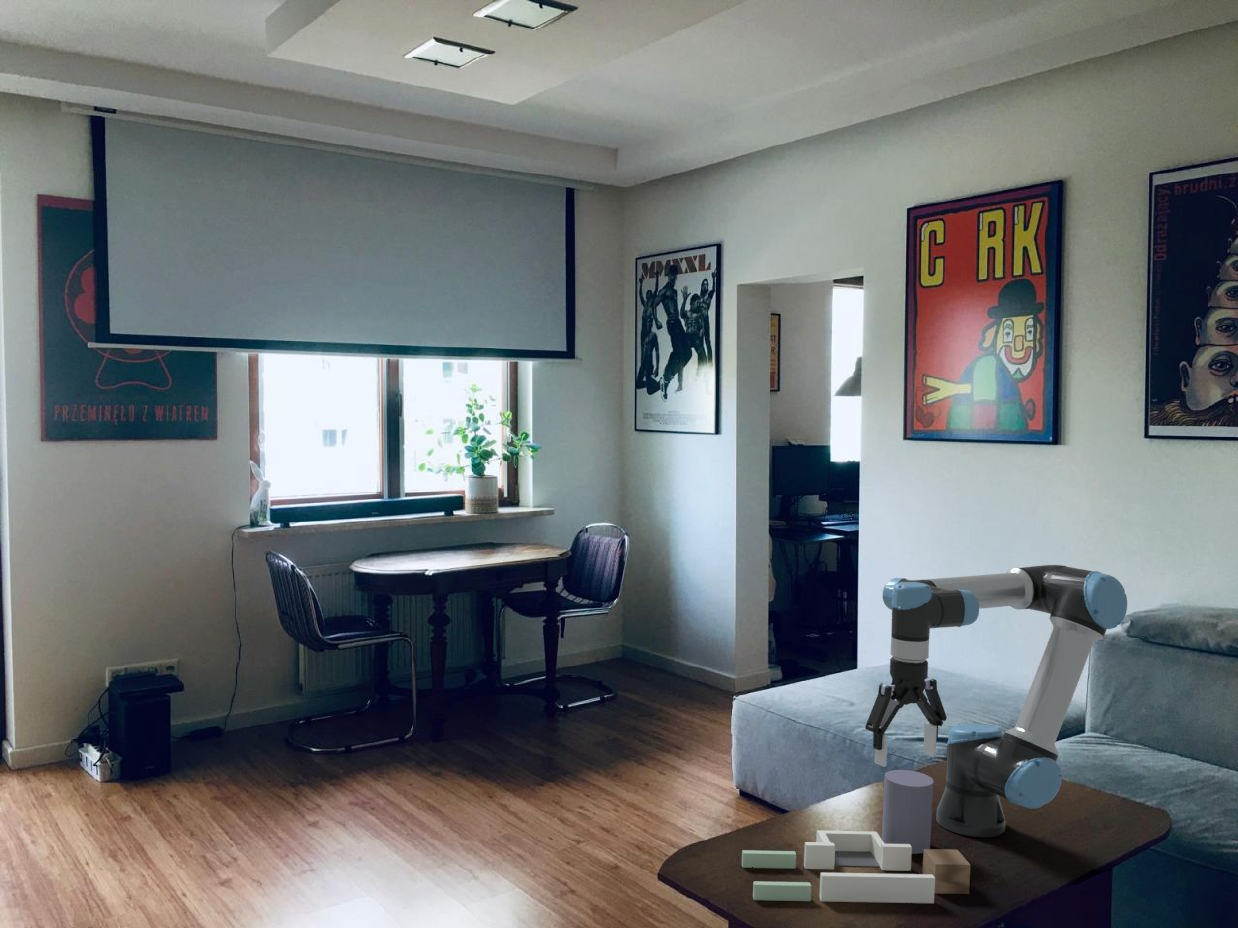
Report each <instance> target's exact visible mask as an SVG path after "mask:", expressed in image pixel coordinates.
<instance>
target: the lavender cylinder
mask: <svg viewBox="0 0 1238 928" xmlns="http://www.w3.org/2000/svg"><path fill="white" fill-rule="evenodd" d="M883 786H884V787H883V801H882V802H883V803H882V821H881V822H882V824H881V825H882V827H881V839H882V840H883V842H884V843H885V844H910V845H911V847H912V855H918V854H919V855H920V854H923V853H924V849H931V840H932V839H931V836H932V818H933V800H934V799H933V798H934V797H933V796H934V779H933V778H932V777H931V776H929V775H927V774H926V773H922V772H919V771H916V770H915V771H914V770H907V769H894V770H890V771H889V770H888V771H887V772H885V773H884V785H883Z"/></svg>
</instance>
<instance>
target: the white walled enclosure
mask: <svg viewBox="0 0 1238 928" xmlns="http://www.w3.org/2000/svg"><path fill="white" fill-rule="evenodd" d="M815 840H816V841H813V842H812V841H804V851H803V852H804V853H803V854H804V855H803V866H804V869H806V870H835V867H857V868H859V867H862V868H863V867H865V868H880V869H881V871H896V872H897V871H901V872H903V871H908V872H909V871H910V872H911V871H912V870H911V869H912V855H913V854H912V847H911V845H910V844H885V843H884V842H883V840H882V837H881V836H880V834H879V833H878V832H877V831H867V830H865V831H863V830H861V831H860V830H821V829H820V830H819V829H818V830H816V839H815ZM934 892H935V877H934V876H933V875H931V874H922V873H921V874H920V873H919V874H917V873H875V872H874V873H873V872H872V873H870V872H869V873H867V872H865V873H864V872H857V873H856V872H826V871H825V872H820V875H819V894H818V895H819V896H818V898H819V900H820V902H833V903H834V902H835V903H836V902H838V903H839V902H841V903H842V902H844V903H845V902H846V903H847V902H848V903H892V904H893V903H895V904H896V903H897V904H899V903H900V904H902V903H903V904H906V903H907V904H911V903H912V904H935V893H934Z"/></svg>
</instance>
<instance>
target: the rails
mask: <svg viewBox="0 0 1238 928" xmlns="http://www.w3.org/2000/svg"><path fill="white" fill-rule="evenodd" d="M741 867H742V868H743V869H747V868H748V869H749V868H750V869H751V868H752V867H753V868H752V869H788V870H789V869H796V868H797V853H796V851H795V850H755V849H753V850H752V849H751V850H749V849H747V850H745V849H742V850H741ZM752 886H753V887H752V898H753V901H780V902H781V901H784V902H785V901H786V902H787V901H789V902H795V901H796V902H812V887H813V886H812V884H811V882H810V881H809V882H808V881H805V882H804V881H757V880H756V881H755V880H754V881H753V883H752Z"/></svg>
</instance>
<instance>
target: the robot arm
mask: <svg viewBox="0 0 1238 928" xmlns="http://www.w3.org/2000/svg"><path fill="white" fill-rule="evenodd" d="M882 600H883V601H882V602H883V603H884V605H885V606H886V608H888V609H889V610H891V635H890V637H891V638H890V655H891V658H890V660H889V675H890V677H891V683H890V684H886V683H882V682H881V683H879V685H878V693H877V696H876V698H875V701H874V703H873V706H872V709H871V711H870V714H869V716H868V719H867V721H866V724H865V727H864V728H865V730H867V731H869V732H871V733H873V734H872V736H873V738H872V747H873V749H874V759H873V761H874V764H876V765H879V766H881V767H883V768H885V767H887V761H888V759H887V758H888V756H887V755H888V738H889V737H888V734H887V733H886V731H887V730H888V728H889V726H890V725H891V723H892V721H893V720H894V718H895V717H896V715H897V713H898V712H899V711H900V709H902V708H903V707H904V705H905V706H907V705H910V704H916V705H917V707H918V708H919V709H920V711H921V712H922V714H923V716H924V718H925V719H926V720H927V722H924V726H923V727H924V729H923V751H922V752H923V754H924V755H926V756H929V757H932V758H935V757H936V753H937V752H936V751H937V740H938V737H939V727H942V726H943V725H944V722H946V720H947V719H948V717H947V715H946V712H945V708H944V706H943V702H942V700H941V696H940V695H939V694H940V693H939V691H938V682H937V679H935V678H932V677H928V674H929V672H928V671H929V662H928V660H927V659H929V657H930V656H929V653H930V652H929V650H930V649H929V648H930V632H931V629H940V628H953V627H954V628H955V627H958V628H962V627H965V626H970V625H972V624H974V623H975V622H976V621H977V620H978V618H979V614H980V609H991V608H1001V607H1002V608H1003V607H1011V608H1012V609H1015V610H1033V611H1036V612H1041V613H1045V614H1049V621H1050V622H1051V625H1052V628H1053V629H1052V631H1051V633H1050V636H1049V639H1048V642H1047V643H1046V647H1045V649H1044V651H1043V654H1042V656H1041V660H1040V661H1039V665H1038V667H1037V669H1036V672H1035V675H1034V678H1033V679H1032V680H1033V681H1032V683H1031V686H1030V688H1029V691H1028V692H1027V695H1026V698H1025V701H1024V702H1023V706H1022V708H1021V710H1020V713H1019V715H1018V718H1017V721H1016V724H1015V725H1014V727H1013V728H1012V727H1011V728H1010V729H1007V730H1005V731H1004V734H1003V733H1002V729H1000V727H997V726H994V725H990V724H989V725H988V724H979V723H965V724H958V725H954V726H953V727H951V728H950V730H949V732H948V739H947V742H946V744H947V745H946V747H947V748H946V751H947V753H946V770H945V771H946V772H945V774H946V775H945V776H946V777H945V780H946V781H945V788H944V791H943V793H942V797H940V801H939V803H938V806H937V809H936V815H935V817H936V819H935V821H936V822H937V824H938V825H939V826H940V827H942V828H944V829H945V830H948V831H949V832H953V833H955V834H958V835H963V836H967V837H972V838H994V837H998V836H1000V834H1001V835H1002V833H1003V832H1004V833H1005V831H1006V817H1005V814H1004V810H1003V806H1002V803H1001V800H1000V797H1002V798H1004V799H1006V800H1008V801H1009V802H1010V803H1013V804H1015V805H1018V806H1021V807H1023V808H1027V809H1039V808H1041V807H1043V806H1044V805H1045V806H1046V805H1047V804H1049V803H1050V802H1051V801H1053V799H1054V798H1055V797H1056V795H1057V794H1058V793H1059V790H1060V788H1061V785H1062V780H1063V776H1062V775H1061V774H1062V769H1061V767H1060V765H1059V764H1058V763H1057V761H1058V757H1059V755H1060V754H1059V752H1058V750H1057V748H1056V745H1055V744H1056V741H1057V738H1058V736H1059V734H1060V731H1061V728H1062V726H1063V723H1064V720H1065V718H1066V715H1067V712H1068V709H1069V708H1070V705H1071V702H1072V699H1073V697H1074V694H1075V692H1076V689H1077V687H1078V683H1079V681H1080V679H1081V675H1082V673H1083V671H1084V668H1085V666H1086V663H1087V660H1088V658H1089V654H1090V653H1091V650H1092V648H1093V645H1094V644H1095V643H1096V642H1098V641H1100V640H1103V639H1104V638H1105V634H1106V632H1107V630H1112V629H1116V628H1118V626H1120V625H1121V624H1122V623H1123V621H1124V620H1125V617H1126V614H1127V610H1128V597H1127V594H1126V592H1125V588H1124V585H1123V584H1122V583H1121V582H1120V581H1119V579H1117V578H1116V577H1115V576H1113V575H1109V574H1106V573H1102V572H1101V571H1097V570H1094V571H1093V570H1088V569H1083V568H1075V567H1072V566H1067V565H1062V564H1045V565H1034V566H1033V565H1032V566H1024V567H1023V566H1022V567H1014V568H1011V569H1008V570H1007V571H1006V572H1005V573H1003V572H1002V573H993V574H981V575H978V574H977V575H963V576H954V577H941V578H940V577H939V578H930V579H912V580H910V579H907V578H903V577H895V578H892V579H890V580H888V581H887V582H886V583H885V585H884V586H883V589H882ZM924 692H925V693H924ZM1004 833H1003V834H1004Z"/></svg>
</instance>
